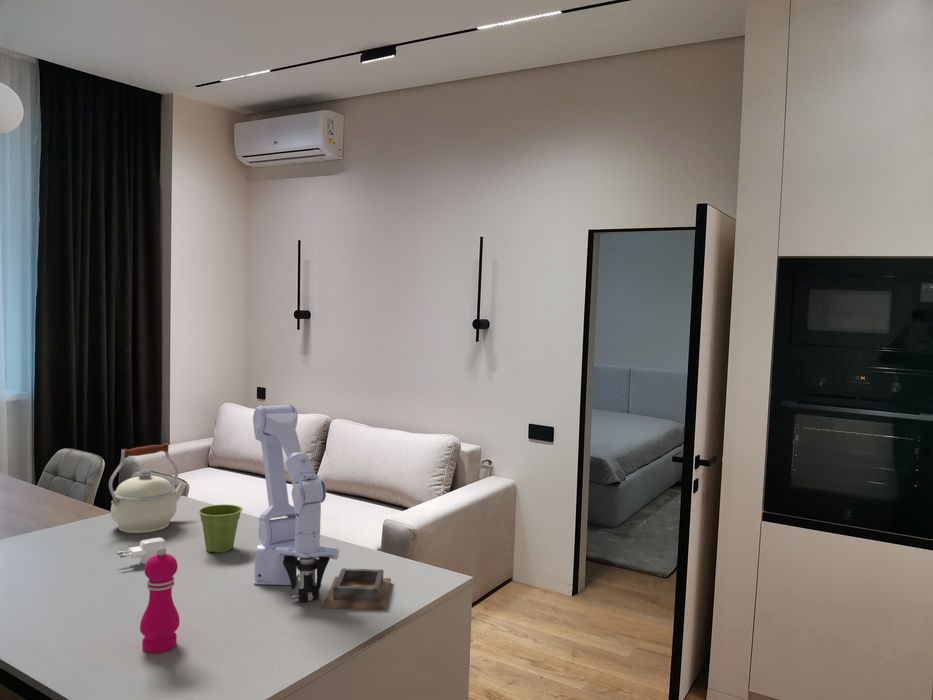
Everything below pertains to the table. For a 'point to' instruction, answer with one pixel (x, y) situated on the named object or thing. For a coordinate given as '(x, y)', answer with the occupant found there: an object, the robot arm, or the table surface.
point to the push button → (307, 580)
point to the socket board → (358, 590)
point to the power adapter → (144, 549)
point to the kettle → (144, 496)
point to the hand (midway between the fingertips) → (306, 587)
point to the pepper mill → (160, 604)
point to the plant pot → (220, 526)
